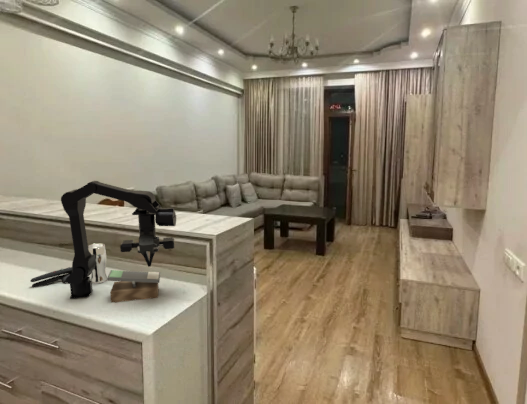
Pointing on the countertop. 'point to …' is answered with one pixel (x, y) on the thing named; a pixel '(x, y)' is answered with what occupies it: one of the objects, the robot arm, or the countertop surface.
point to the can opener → (53, 279)
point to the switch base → (133, 291)
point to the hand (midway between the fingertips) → (149, 266)
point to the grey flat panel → (134, 276)
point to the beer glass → (98, 263)
